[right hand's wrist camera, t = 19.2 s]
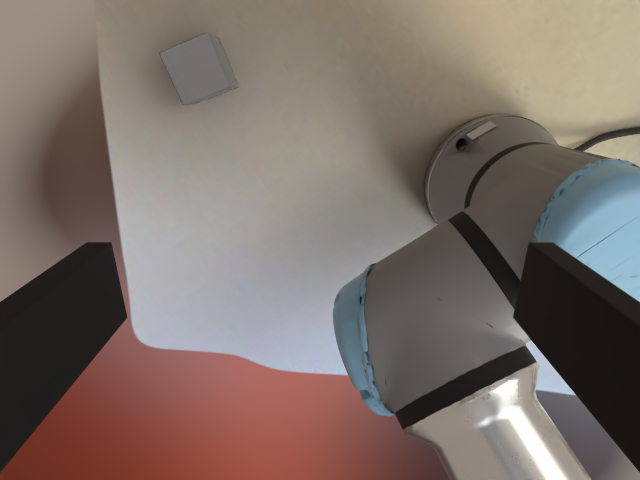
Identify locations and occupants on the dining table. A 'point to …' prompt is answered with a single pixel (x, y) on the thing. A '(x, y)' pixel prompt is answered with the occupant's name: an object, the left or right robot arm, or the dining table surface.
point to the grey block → (199, 69)
